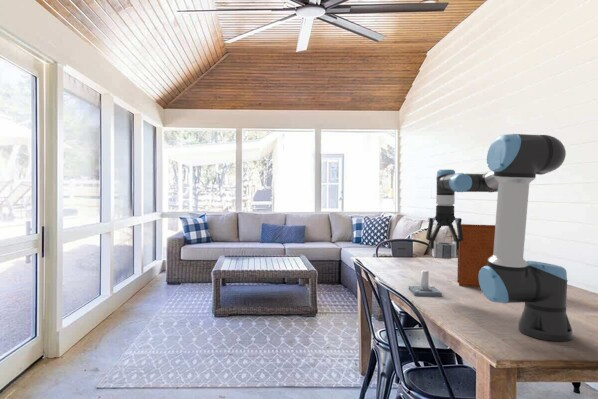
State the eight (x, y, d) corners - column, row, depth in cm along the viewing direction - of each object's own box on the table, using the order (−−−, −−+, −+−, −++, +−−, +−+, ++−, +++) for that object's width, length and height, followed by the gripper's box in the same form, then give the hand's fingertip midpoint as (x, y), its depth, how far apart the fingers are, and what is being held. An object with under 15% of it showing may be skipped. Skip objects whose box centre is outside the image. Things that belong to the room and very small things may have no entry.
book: (458, 285, 195) (459, 225, 195) (457, 281, 203) (458, 224, 202) (510, 289, 188) (511, 226, 188) (506, 285, 196) (507, 225, 196)
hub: (456, 259, 168) (456, 245, 168) (437, 258, 169) (437, 244, 168) (450, 255, 176) (450, 242, 176) (432, 255, 177) (432, 242, 176)
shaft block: (441, 296, 174) (442, 274, 174) (414, 295, 175) (414, 273, 175) (434, 289, 186) (434, 268, 186) (408, 289, 187) (408, 268, 187)
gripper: (466, 204, 175) (465, 255, 175) (418, 204, 176) (417, 254, 177) (472, 205, 167) (471, 258, 168) (423, 205, 169) (421, 257, 169)
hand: (444, 256), depth 172 cm, fingers closed on hub, 8 cm apart
